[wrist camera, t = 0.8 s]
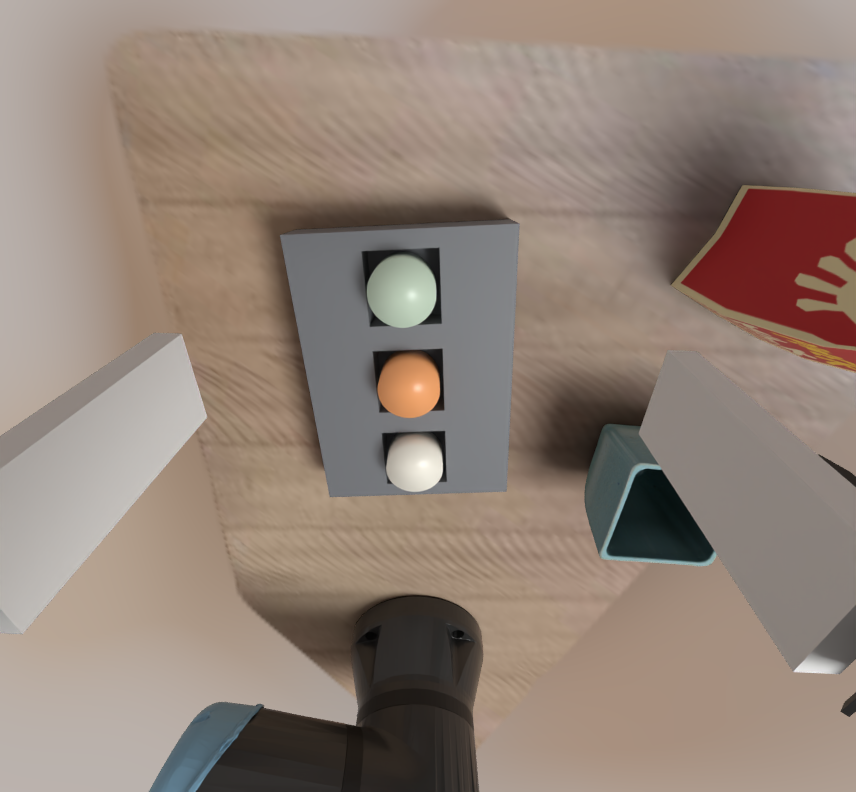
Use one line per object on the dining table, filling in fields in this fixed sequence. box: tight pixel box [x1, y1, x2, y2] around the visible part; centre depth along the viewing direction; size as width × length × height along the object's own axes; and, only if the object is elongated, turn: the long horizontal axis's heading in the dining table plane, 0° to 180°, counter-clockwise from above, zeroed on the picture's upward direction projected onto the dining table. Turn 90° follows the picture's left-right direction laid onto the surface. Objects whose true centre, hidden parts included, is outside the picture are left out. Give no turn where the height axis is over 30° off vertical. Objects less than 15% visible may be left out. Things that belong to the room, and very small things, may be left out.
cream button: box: [386, 431, 443, 492], centre depth 34 cm, size 4×4×3 cm
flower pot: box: [585, 424, 717, 566], centre depth 34 cm, size 9×9×9 cm
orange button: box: [377, 350, 440, 418], centre depth 31 cm, size 4×4×3 cm
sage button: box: [367, 252, 436, 328], centre depth 28 cm, size 4×4×3 cm
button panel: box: [280, 219, 519, 497], centre depth 33 cm, size 21×15×4 cm
